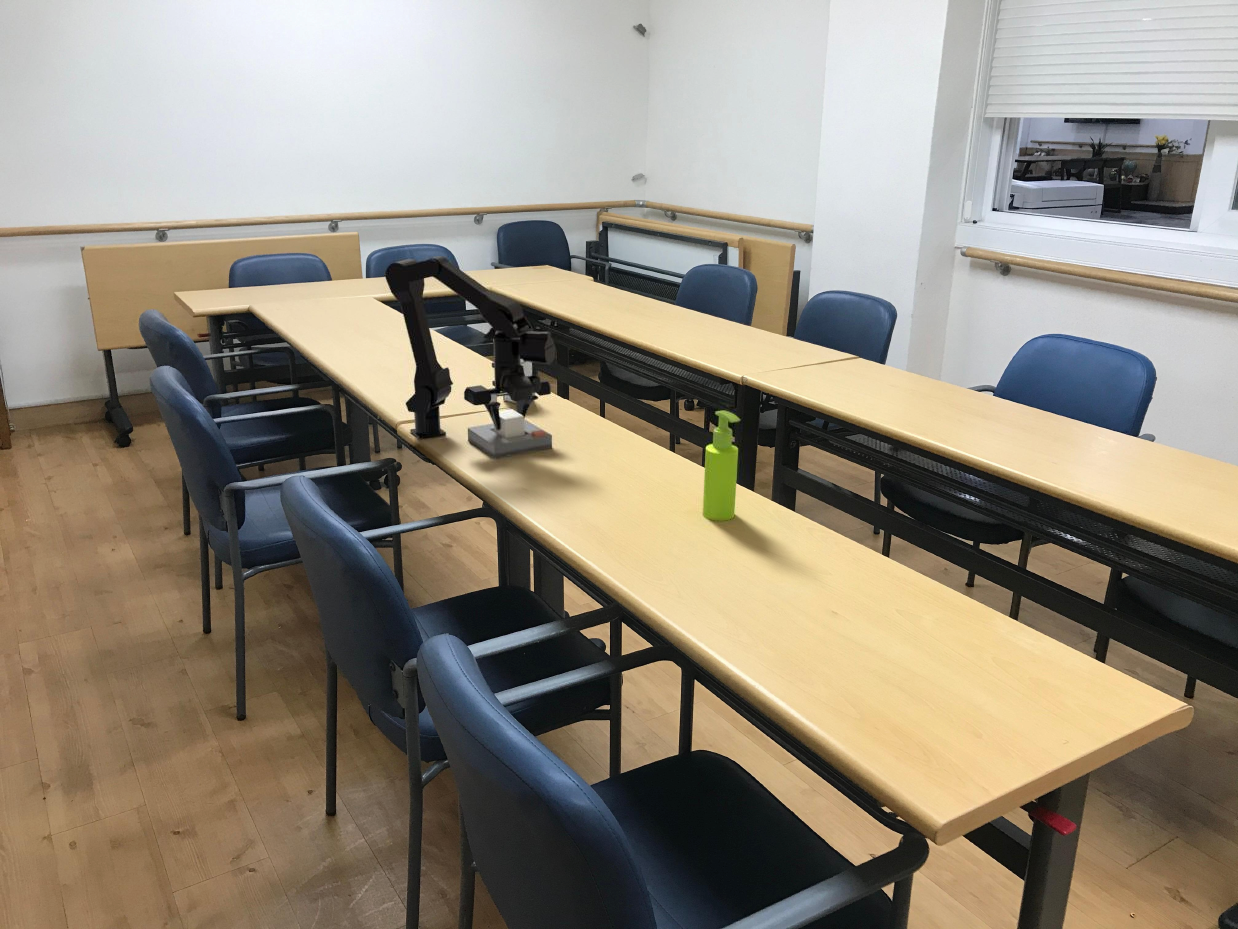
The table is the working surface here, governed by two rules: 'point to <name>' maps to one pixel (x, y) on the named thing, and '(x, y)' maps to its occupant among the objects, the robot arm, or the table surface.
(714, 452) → the soap dispenser
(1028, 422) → the table surface
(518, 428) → the plug
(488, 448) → the socket
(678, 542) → the table surface
